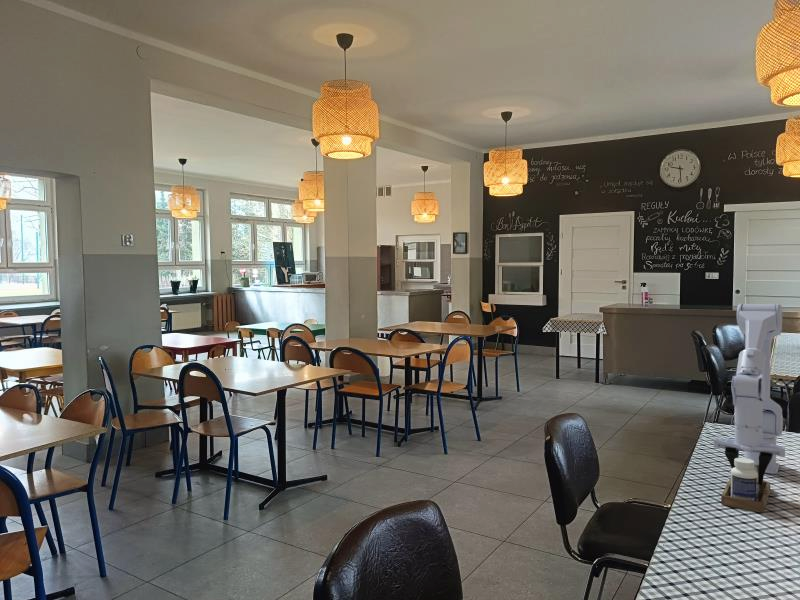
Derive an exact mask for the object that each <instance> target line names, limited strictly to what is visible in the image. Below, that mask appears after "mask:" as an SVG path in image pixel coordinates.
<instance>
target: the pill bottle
mask: <svg viewBox="0 0 800 600" xmlns="http://www.w3.org/2000/svg"><path fill="white" fill-rule="evenodd" d="M734 465H735V467H734V468H731V470H730V478H731V495H730V497H736V498H741V499H747V500H752V501H758V502H759V500H758V473H757V472H756V471H755V470H753V469H754V468H755V462H754V461H753V460H751V459H746V458H745V457H739V458H735V459H734Z"/></svg>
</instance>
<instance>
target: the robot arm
mask: <svg viewBox="0 0 800 600" xmlns="http://www.w3.org/2000/svg"><path fill="white" fill-rule="evenodd" d="M736 324H737V325H738V329H739V330H740V332H741V333H742V335H745V339H744V342H745V343H744V349H743V350H741V351H740V352H739V353H738V361H737V366H736V372H735V375H733V376H732V379H731V394H732V405H733V406H734V409H733V410H734V438H719V437H718V438H717V437H714V438H713V448H715V449H716V448H717V449H719V448H720V449H725V450H724V454H725V457H726V458H727V460H728V463H729V465H730V468H731V469H732V468H734V467H735V465H734V459H735V458H740V457H739V454H740V453H739V451H741V452H742V451H744V458H746V459H751V460H753V461H754V462H755V463H757V464H759V480H758V483H759V485H762V484H763V481H764V478H765V474H770V475H771V474H772V475H778V471H779V468H780V463H779V462H777V456H778V457H780V458H785V457H786V447H785V446H780V445H777V438H778V437H781V435H783V430H784V429H783V428H784V427H783V426H784V422H783V421H784V418H783V417H784V416H783V408H782V407H781V405H780V404H779V403H777V402H776V401H775V400H773V399H771V361H772V359H771V358H772V357H771V356H772V355H771V351H772V347H771V345H772V342H773V339H774V337H777V336H780V335H781V332H782V330H783V306H782V305H781V304H780V303H739V304H738V305H737V308H736ZM767 410H768V411H767Z"/></svg>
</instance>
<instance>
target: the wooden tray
mask: <svg viewBox="0 0 800 600" xmlns="http://www.w3.org/2000/svg"><path fill="white" fill-rule="evenodd" d="M770 492H771V481H766V480H763V484H762V485H759V490H758V501H752V500H747V499H741V498H736V497H731V477H730V478H729V480H728V481H727V484H726V486H725V488H724V490H723V492H722V494H721V497H720V498H721V499H720V500H721V501H720V502H721V503H720V504H722V505H721V506H726V505H727V506H728V507H732V508H737V509H738V508H739V509H742V508H743V510H749V511H753V512H759V513H764V512H765V510H766V507H767V503H768V501H769V497H768V496H770ZM729 494H730V495H729ZM727 506H726V507H727Z"/></svg>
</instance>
